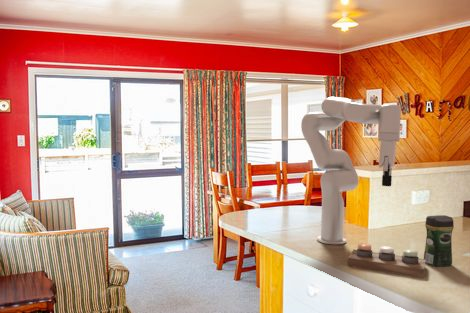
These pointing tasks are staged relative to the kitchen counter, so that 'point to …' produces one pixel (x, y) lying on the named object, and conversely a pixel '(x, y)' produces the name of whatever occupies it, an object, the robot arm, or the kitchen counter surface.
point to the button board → (387, 262)
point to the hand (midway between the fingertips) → (386, 185)
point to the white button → (386, 249)
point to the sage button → (410, 252)
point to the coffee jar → (438, 240)
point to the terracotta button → (364, 246)
